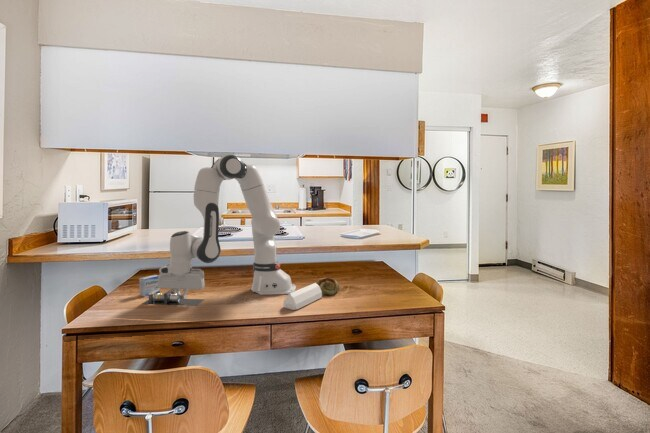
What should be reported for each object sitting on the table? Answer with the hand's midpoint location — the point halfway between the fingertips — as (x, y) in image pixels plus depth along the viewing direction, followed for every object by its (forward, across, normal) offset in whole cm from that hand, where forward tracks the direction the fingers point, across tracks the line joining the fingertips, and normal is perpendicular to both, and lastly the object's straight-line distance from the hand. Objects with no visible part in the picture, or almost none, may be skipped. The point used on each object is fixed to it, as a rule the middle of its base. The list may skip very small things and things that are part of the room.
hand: (181, 298), depth 160 cm
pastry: (+2, -64, -23) cm, 68 cm away
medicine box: (+2, +21, -10) cm, 23 cm away
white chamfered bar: (+2, -54, -6) cm, 54 cm away
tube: (+2, +7, 0) cm, 7 cm away
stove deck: (+2, +4, 0) cm, 4 cm away
